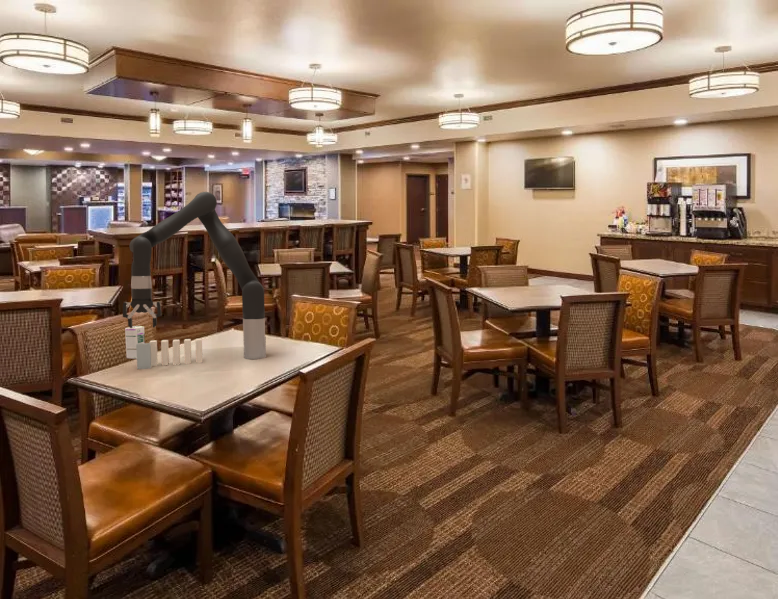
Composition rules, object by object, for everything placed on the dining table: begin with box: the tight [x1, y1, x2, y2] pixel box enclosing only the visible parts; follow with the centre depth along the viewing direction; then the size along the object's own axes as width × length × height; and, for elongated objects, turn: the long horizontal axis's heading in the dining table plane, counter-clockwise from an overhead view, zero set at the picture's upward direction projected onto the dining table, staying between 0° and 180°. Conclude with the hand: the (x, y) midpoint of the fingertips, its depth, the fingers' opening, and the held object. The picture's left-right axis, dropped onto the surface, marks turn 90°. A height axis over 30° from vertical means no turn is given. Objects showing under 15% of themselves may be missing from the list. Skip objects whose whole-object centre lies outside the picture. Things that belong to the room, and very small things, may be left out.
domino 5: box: [183, 338, 192, 365], centre depth 250 cm, size 2×5×10 cm, turn 16°
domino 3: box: [160, 339, 170, 367], centre depth 247 cm, size 2×5×10 cm, turn 16°
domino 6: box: [194, 338, 203, 364], centre depth 251 cm, size 2×5×10 cm, turn 16°
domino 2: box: [148, 339, 158, 367], centre depth 246 cm, size 2×5×10 cm, turn 16°
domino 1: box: [136, 342, 152, 370], centre depth 239 cm, size 2×5×10 cm, turn 106°
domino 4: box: [172, 339, 181, 366], centre depth 249 cm, size 2×5×10 cm, turn 16°
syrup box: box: [124, 325, 146, 360], centre depth 259 cm, size 6×6×14 cm
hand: (142, 327), depth 238 cm, fingers open, 8 cm apart
